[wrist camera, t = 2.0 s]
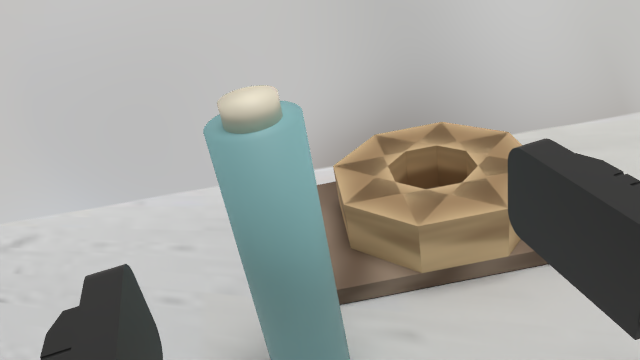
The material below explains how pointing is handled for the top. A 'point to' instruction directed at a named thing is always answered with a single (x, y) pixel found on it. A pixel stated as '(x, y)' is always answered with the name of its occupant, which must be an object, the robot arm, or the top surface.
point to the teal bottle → (277, 222)
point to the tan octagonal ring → (429, 196)
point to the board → (389, 278)
